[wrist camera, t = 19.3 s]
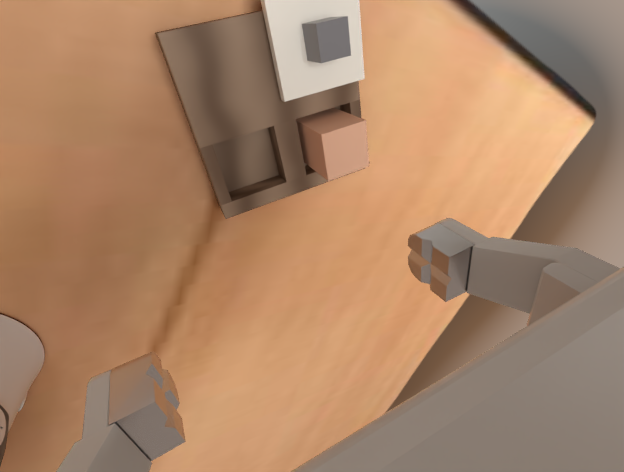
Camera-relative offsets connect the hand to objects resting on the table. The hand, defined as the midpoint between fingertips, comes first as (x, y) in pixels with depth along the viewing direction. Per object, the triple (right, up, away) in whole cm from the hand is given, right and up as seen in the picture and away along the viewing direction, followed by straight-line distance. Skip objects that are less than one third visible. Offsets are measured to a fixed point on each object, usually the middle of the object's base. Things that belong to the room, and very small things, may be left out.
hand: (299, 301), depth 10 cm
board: (-4, +16, +28) cm, 32 cm away
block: (+1, +14, +30) cm, 33 cm away
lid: (+1, +21, +22) cm, 30 cm away
